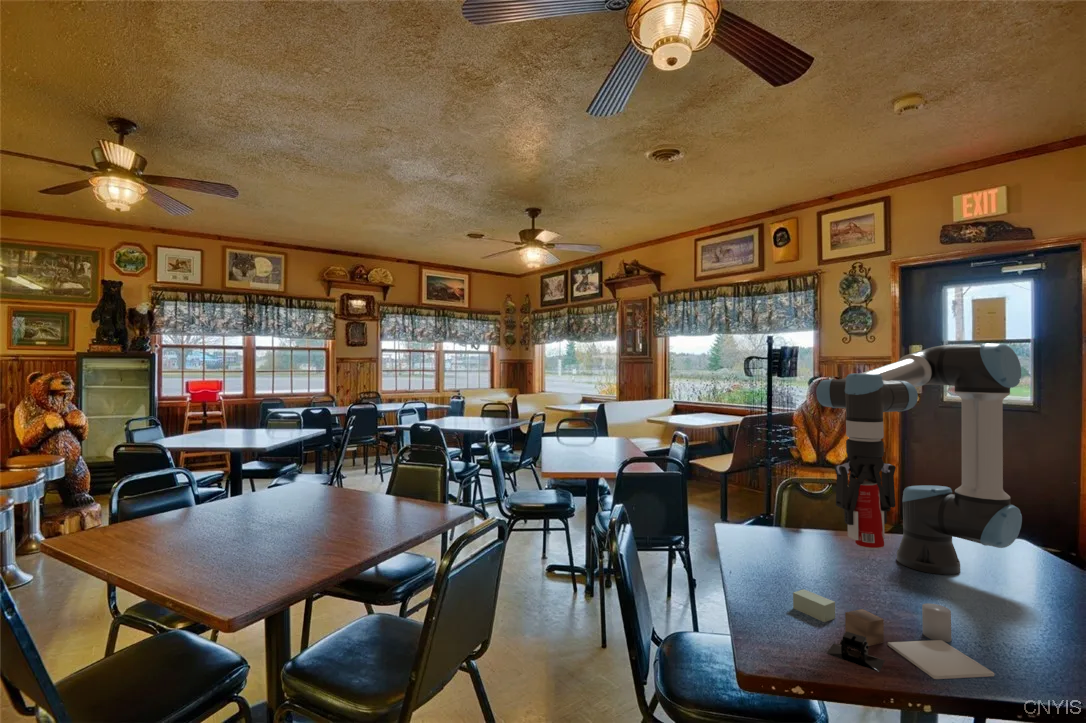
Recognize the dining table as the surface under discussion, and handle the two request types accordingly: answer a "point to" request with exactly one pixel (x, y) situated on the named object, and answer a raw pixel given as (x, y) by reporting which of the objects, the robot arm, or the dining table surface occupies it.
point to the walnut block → (865, 625)
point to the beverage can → (869, 517)
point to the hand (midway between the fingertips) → (865, 537)
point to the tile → (940, 659)
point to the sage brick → (814, 605)
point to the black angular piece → (855, 652)
